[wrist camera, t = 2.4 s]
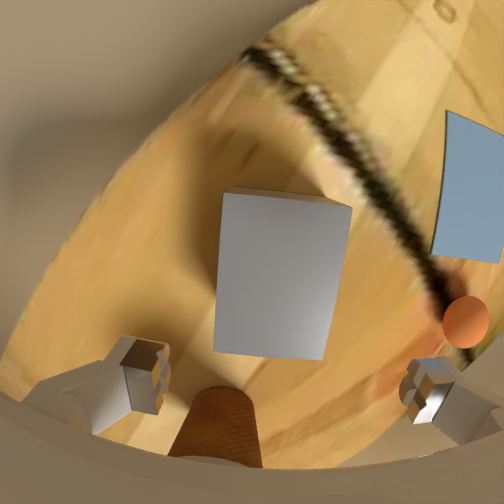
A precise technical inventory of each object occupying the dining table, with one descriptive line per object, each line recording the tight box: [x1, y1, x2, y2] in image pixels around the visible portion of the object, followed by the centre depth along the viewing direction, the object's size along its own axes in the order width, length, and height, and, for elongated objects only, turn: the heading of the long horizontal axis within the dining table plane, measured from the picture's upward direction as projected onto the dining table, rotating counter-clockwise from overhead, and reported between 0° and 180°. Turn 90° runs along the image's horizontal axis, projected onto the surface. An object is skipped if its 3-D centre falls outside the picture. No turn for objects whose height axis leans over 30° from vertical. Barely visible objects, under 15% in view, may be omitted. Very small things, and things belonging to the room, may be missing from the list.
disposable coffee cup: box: [167, 387, 263, 468], centre depth 22 cm, size 10×10×12 cm
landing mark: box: [431, 111, 504, 264], centre depth 21 cm, size 13×10×1 cm
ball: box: [443, 296, 489, 348], centre depth 22 cm, size 5×5×5 cm
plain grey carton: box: [213, 187, 352, 360], centre depth 20 cm, size 10×7×7 cm
